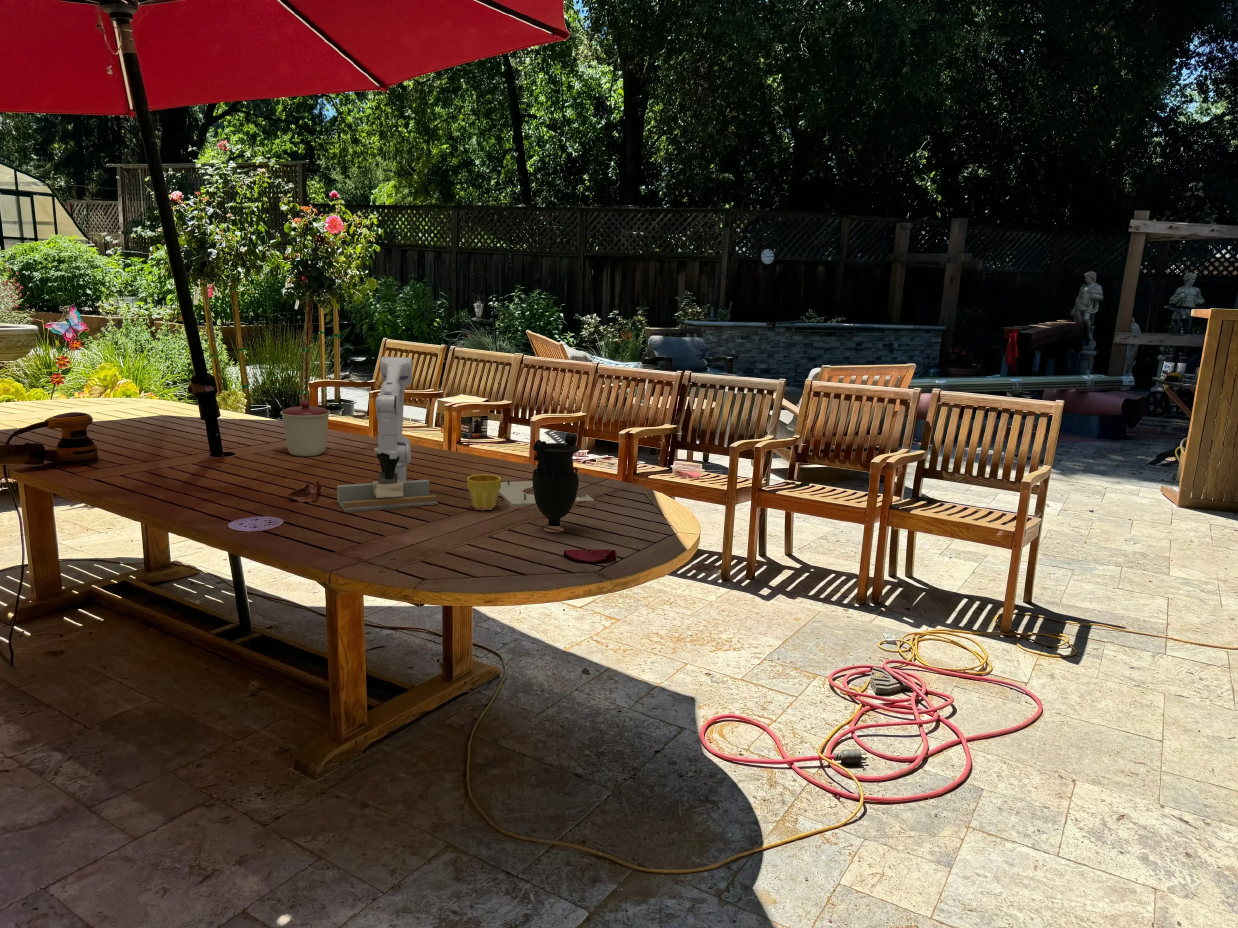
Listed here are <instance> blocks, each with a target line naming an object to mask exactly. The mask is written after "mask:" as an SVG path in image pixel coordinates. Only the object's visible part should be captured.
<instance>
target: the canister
mask: <svg viewBox="0 0 1238 928" xmlns="http://www.w3.org/2000/svg"><path fill="white" fill-rule="evenodd" d="M279 414H280V415H282V423H283V430H284V437H285V442H286V448H287V451H288V453H290V455H292V456H295V457H315V456H320V455H322V454H323V453H324V452H325V449H326V446H327V437H328V428H329V427H328V426H329V416H330V414H331V411H330V410H328V409H326V408H325V407H321V406H311V402H310V400H307V399H303V400H301V401H300V406H293V407H292V406H291V407H287V408H285V409H283V410H281V411H280V413H279Z"/></svg>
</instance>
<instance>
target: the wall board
mask: <svg viewBox="0 0 1238 928" xmlns="http://www.w3.org/2000/svg"><path fill="white" fill-rule="evenodd" d="M401 482H402V483H403V496H399V497H384V498H376V497H375V496H374V495H373V482H370V483H369V482H368V483H354V484H353V483H352V484H340V485H339V484H337V486H336V487H337V488H336V489H337V490H336V491H337V500H336V503H337V504H338V505H339V506H340V508H341V509H342V511H344V512H345V513H346V514H347V513H356V512H357V513H358V512H370V511H382V510H396V509H397V510H398V509H406V508H405V507H411V506H423V505H433V504H438V505H439V502H438V501H437V496H436V495H434V494H433V495H430V480H428V479H417V480H416V479H415V480H406V481H401ZM423 507H424V506H423ZM411 508H412V507H411Z"/></svg>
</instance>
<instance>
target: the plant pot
mask: <svg viewBox="0 0 1238 928" xmlns="http://www.w3.org/2000/svg"><path fill="white" fill-rule="evenodd" d="M501 482H502V478H501V477H500V476H498V475H494V474H487V473H486V474H484V473H483V474H474V475H469V476H468V477H467V478H466V488H467V490H469V495H470V499H471V504H472V507H473V506H474V507H477V508H492V507H495V508H496V504H497V500H498V491H499V490H500V489H501Z"/></svg>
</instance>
